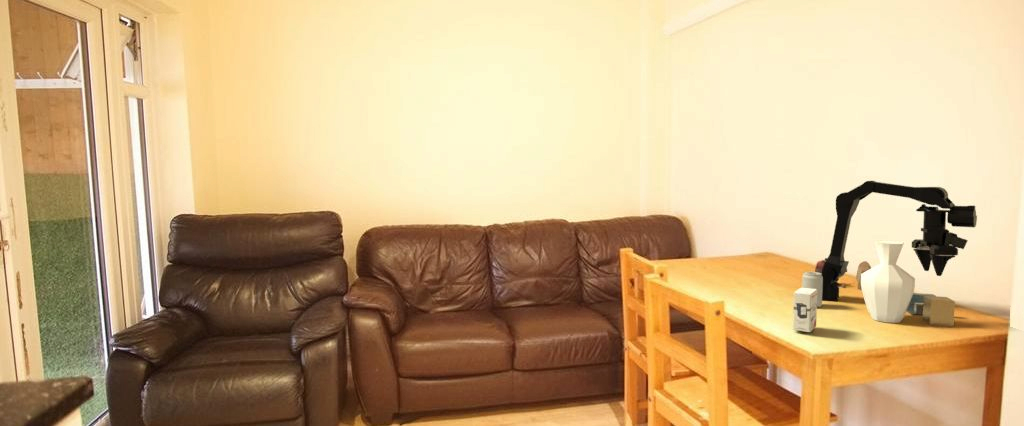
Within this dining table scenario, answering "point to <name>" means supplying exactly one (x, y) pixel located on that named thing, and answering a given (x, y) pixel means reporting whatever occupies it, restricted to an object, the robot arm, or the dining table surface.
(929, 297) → the block
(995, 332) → the dining table surface
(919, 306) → the fixed jaw
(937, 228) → the robot arm
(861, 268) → the stone
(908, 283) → the vase
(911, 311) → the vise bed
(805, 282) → the beverage can
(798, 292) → the ink box
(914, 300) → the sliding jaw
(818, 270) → the stuffed fox
